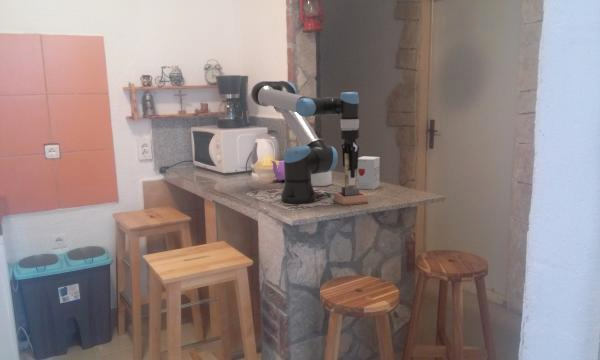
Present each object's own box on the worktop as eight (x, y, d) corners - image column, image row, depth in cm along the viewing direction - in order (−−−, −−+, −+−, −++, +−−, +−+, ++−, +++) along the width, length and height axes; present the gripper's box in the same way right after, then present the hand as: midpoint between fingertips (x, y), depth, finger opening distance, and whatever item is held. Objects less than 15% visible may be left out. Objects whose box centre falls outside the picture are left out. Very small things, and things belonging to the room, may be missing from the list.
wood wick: (347, 195, 205) (346, 153, 202) (345, 194, 207) (344, 153, 204) (355, 194, 206) (355, 153, 203) (353, 193, 208) (353, 152, 205)
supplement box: (356, 188, 235) (356, 158, 233) (362, 185, 243) (362, 155, 241) (373, 189, 231) (374, 159, 229) (379, 186, 239) (380, 156, 236)
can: (322, 187, 240) (321, 147, 236) (302, 185, 247) (301, 146, 244) (336, 183, 250) (335, 145, 246) (316, 181, 257) (315, 144, 254)
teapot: (280, 185, 249) (279, 161, 247) (263, 182, 260) (262, 159, 257) (308, 180, 262) (308, 157, 260) (291, 177, 273) (291, 155, 270)
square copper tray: (343, 205, 201) (343, 191, 199) (333, 200, 211) (333, 186, 210) (367, 203, 204) (367, 189, 203) (356, 198, 214) (356, 184, 213)
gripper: (366, 130, 196) (366, 186, 200) (350, 127, 210) (351, 181, 214) (348, 130, 193) (349, 188, 198) (334, 128, 208) (335, 182, 212)
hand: (350, 184), depth 206 cm, fingers closed on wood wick, 2 cm apart
